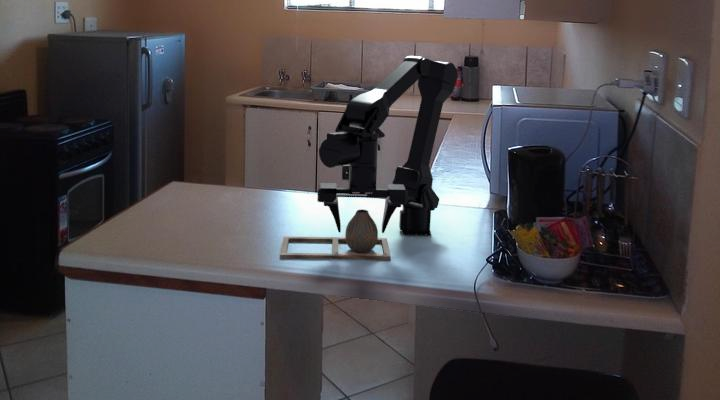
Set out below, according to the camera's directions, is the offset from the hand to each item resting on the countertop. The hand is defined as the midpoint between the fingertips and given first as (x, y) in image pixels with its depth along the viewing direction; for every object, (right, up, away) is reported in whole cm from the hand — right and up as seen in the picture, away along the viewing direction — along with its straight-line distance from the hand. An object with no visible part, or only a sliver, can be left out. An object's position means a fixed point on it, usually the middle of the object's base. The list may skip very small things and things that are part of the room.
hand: (361, 232), depth 163 cm
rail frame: (-6, -4, +1) cm, 7 cm away
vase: (0, -4, +1) cm, 4 cm away
